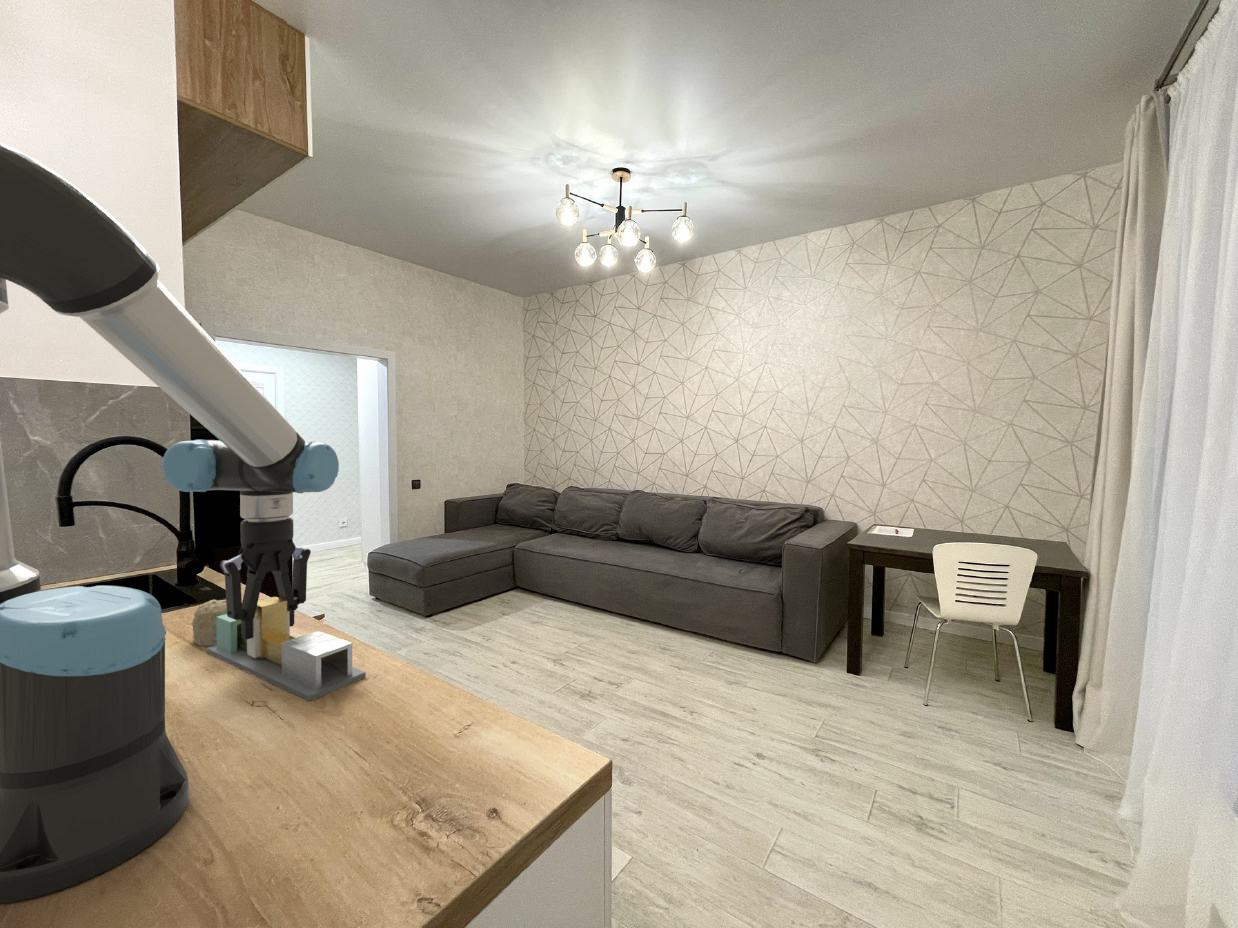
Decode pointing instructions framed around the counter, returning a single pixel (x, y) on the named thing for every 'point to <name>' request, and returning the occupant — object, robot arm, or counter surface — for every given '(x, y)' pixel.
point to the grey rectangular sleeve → (315, 657)
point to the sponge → (207, 622)
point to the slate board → (274, 675)
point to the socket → (227, 633)
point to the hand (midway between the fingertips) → (268, 650)
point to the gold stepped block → (270, 628)
